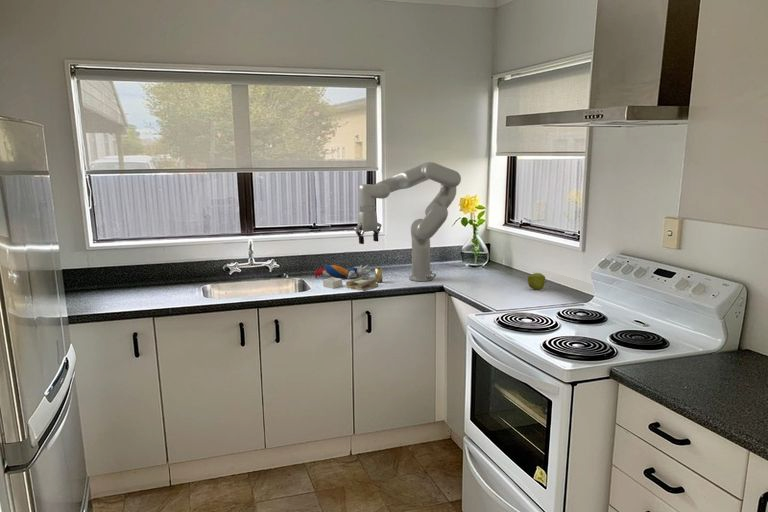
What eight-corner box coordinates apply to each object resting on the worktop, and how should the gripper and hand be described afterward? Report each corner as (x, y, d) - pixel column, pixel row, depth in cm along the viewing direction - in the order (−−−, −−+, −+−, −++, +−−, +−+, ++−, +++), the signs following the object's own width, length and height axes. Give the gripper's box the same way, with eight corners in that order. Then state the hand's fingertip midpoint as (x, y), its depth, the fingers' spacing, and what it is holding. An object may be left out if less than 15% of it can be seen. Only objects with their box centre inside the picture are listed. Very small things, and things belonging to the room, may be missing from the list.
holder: (342, 285, 284) (342, 279, 283) (333, 288, 278) (333, 281, 278) (332, 284, 288) (332, 277, 287) (323, 286, 283) (323, 279, 282)
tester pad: (368, 281, 282) (368, 280, 282) (360, 283, 277) (360, 282, 277) (361, 280, 285) (361, 279, 284) (353, 282, 280) (353, 281, 280)
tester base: (378, 285, 282) (378, 279, 282) (362, 290, 273) (362, 284, 272) (362, 283, 289) (361, 277, 288) (346, 287, 279) (346, 281, 279)
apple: (546, 291, 266) (547, 275, 265) (526, 290, 269) (527, 274, 267) (546, 288, 273) (547, 271, 272) (527, 287, 276) (528, 271, 274)
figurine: (310, 286, 291) (367, 284, 286) (308, 270, 290) (366, 267, 285) (324, 275, 317) (376, 273, 312) (322, 260, 316) (375, 258, 311)
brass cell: (383, 281, 291) (383, 267, 290) (379, 283, 288) (379, 268, 287) (378, 281, 293) (378, 266, 292) (374, 282, 290) (373, 267, 289)
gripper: (375, 207, 293) (376, 239, 296) (349, 210, 282) (351, 244, 285) (385, 207, 288) (386, 240, 291) (359, 211, 276) (360, 245, 280)
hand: (368, 242), depth 288 cm, fingers open, 9 cm apart
